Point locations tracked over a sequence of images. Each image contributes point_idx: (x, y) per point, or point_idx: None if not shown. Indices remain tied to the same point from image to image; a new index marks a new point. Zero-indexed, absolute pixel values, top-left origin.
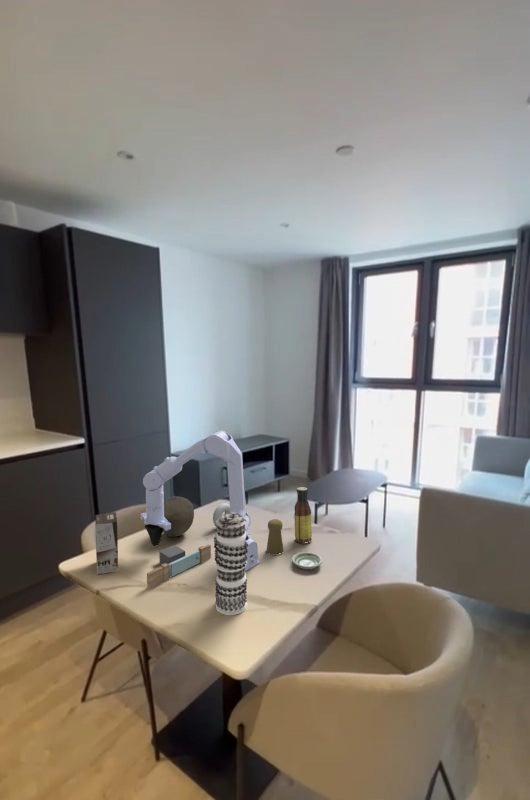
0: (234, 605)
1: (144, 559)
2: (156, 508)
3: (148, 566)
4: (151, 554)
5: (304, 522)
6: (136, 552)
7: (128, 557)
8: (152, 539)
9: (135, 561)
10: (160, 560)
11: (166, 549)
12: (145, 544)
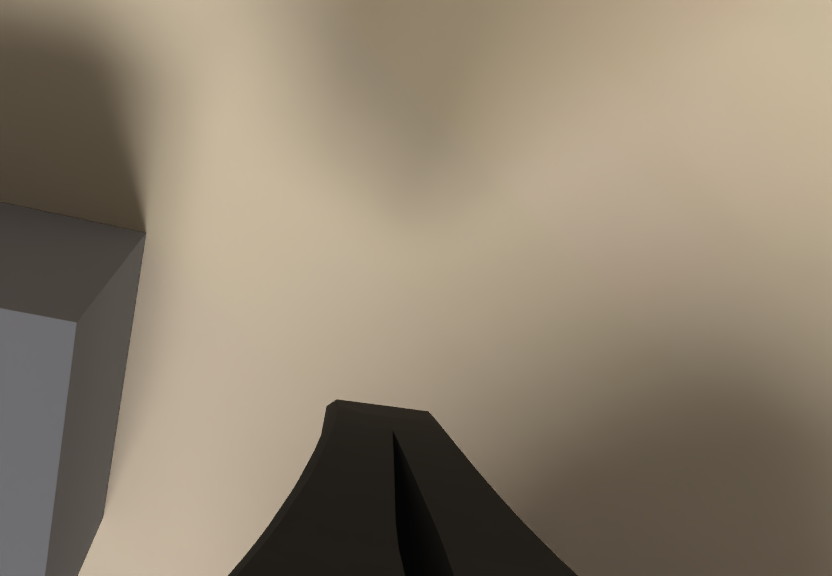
0: None
1: (483, 172)
2: None
3: (204, 5)
4: (499, 360)
5: None
6: (788, 281)
7: (812, 75)
8: (364, 491)
9: (586, 26)
10: (96, 241)
11: (15, 473)
12: (812, 526)
